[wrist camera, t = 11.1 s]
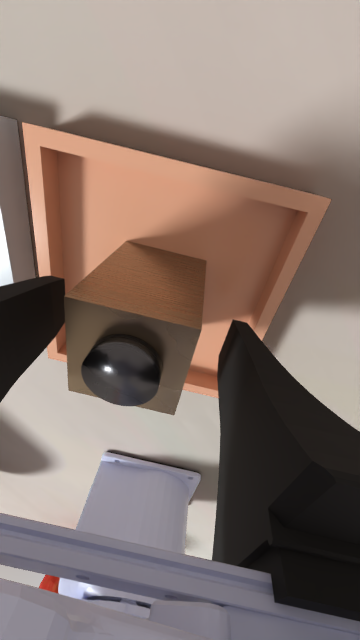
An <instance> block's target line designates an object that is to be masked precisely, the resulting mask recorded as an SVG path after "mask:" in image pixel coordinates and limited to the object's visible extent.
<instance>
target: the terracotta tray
mask: <svg viewBox="0 0 360 640" xmlns="http://www.w3.org/2000/svg"><path fill="white" fill-rule="evenodd" d="M22 127H23V136H24V145H25V154H26V163H27V172H28V181H29V190H30V199H31V208H32V217H33V226H34V235H35V244H36V252H37V261H38V270H39V277H42V276H50V275H51V276H55V277H59V278H63V279H65V295H66V294H67V293H68V292H69V291H70V290H72V289H73V288H74V287H75V286H76V285H77V284H78V283H79V282H80V281H82V280H83V279H84V278H85V277H86V276H87V275H88V274H89V273H91V272H92V271H93V270H94V269H95V268H96V267H97V266H98V265H100V264H101V263H102V262H103V261H104V260H105V259H106V258H107V257H109V256H110V255H111V254H112V253H113V252H114V251H115V250H116V249H118V248H119V247H120V246H121V245H122V244H123V243H124V242H125V241H130V242H134V243H138V244H142V245H146V246H150V247H154V248H158V249H162V250H166V251H170V252H174V253H178V254H182V255H186V256H190V257H194V258H199V259H203V260H207V261H206V275H205V289H204V303H203V317H202V330H201V333H200V336H199V339H198V342H197V346H196V349H195V352H194V355H193V358H192V361H191V364H190V367H189V370H188V374H187V377H186V380H185V383H184V386H183V389H182V390H186V391H191V392H195V393H199V394H203V395H208V396H212V397H216V398H219V397H218V381H217V371H218V357H219V353H220V351H221V348H222V346H223V343H224V341H225V338H226V335H227V333H228V330H229V328H230V325H231V323H232V320H233V319H234V320H238V321H242V322H246V323H248V324H249V326H250V327H251V328H252V329H253V331H254V332H255V333H256V334H257V336H258V337H259V338H260V340H261V341H262V339H263V337H264V335H265V333H266V331H267V329H268V327H269V325H270V323H271V321H272V319H273V317H274V315H275V313H276V311H277V309H278V307H279V305H280V303H281V301H282V299H283V297H284V295H285V293H286V291H287V289H288V287H289V285H290V283H291V281H292V279H293V277H294V275H295V273H296V271H297V269H298V267H299V265H300V263H301V261H302V259H303V257H304V255H305V253H306V251H307V249H308V247H309V245H310V242H311V240H312V238H313V236H314V234H315V232H316V230H317V228H318V226H319V224H320V222H321V220H322V218H323V216H324V214H325V212H326V210H327V208H328V206H329V204H330V202H331V200H332V199H329V198H326V197H322V196H319V195H316V194H312V193H308V192H304V191H300V190H296V189H292V188H288V187H284V186H280V185H276V184H272V183H268V182H264V181H260V180H256V179H252V178H248V177H244V176H240V175H236V174H232V173H228V172H224V171H220V170H216V169H212V168H208V167H204V166H200V165H196V164H192V163H188V162H184V161H180V160H176V159H172V158H168V157H164V156H160V155H156V154H152V153H148V152H144V151H140V150H136V149H132V148H128V147H124V146H120V145H116V144H112V143H108V142H104V141H100V140H96V139H92V138H88V137H84V136H80V135H75V134H71V133H67V132H63V131H59V130H55V129H51V128H47V127H42V126H38V125H33V124H28V123H24V122H22ZM47 351H48V358H50V359H54V360H59V361H63V362H67V349H66V329H65V323H64V325H63V326H62V328H61V329H60V331H59V332H58V334H57V335H56V337H55V338H54V339H53V340H52V341H51V343H50V344H49V345H48V346H47Z"/></svg>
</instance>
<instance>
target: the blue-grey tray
mask: <svg viewBox="0 0 360 640" xmlns="http://www.w3.org/2000/svg"><path fill="white" fill-rule="evenodd" d="M33 278H36V275H35V267H34V258H33V250H32V242H31V233H30V225H29V216H28V208H27V200H26V191H25V183H24V175H23V166H22V158H21V150H20V141H19V133H18V125H17V120H15V119H11V118H7V117H3V116H0V286H4V285H8V284H12V283H16V282H20V281H24V280H28V279H33Z"/></svg>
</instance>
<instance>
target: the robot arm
mask: <svg viewBox="0 0 360 640" xmlns="http://www.w3.org/2000/svg"><path fill="white" fill-rule="evenodd" d="M64 296H65V279H63V278H59V277H55V276H51V275H50V276H42V277H37V278H33V279H28V280H24V281H20V282H16V283H12V284H8V285H4V286H0V402H1V401H2V399H3V398H4V397H5V395H6V394H7V393H8V391H9V390H10V388H11V387H12V386H13V384H14V383H15V382H16V381H17V380H18V378H19V377H20V376H21V375H22V374H23V373H24V372H25V370H26V369H27V368H28V367H29V366H30V365H31V364H32V363H33V362H34V360H35V359H36V358H37V357H38V356H39V355H40V354H41V353H42V352H43V351H44V349H45V348H46V347H47V346H48V345H49V344H50V343H51V341H52V340H53V339H54V338H55V337H56V335H57V334H58V332H59V331H60V329H61V328H62V326H63V325H64V323H65V309H64ZM217 381H218V397H219V411H220V431H221V436H220V462H219V481H218V496H217V510H216V522H215V534H214V545H213V556H212V560H207V559H203V558H198V557H194V556H189V555H185V541H186V527H187V514H188V503H189V501H190V499H191V497H192V495H193V493H194V492H195V490H196V488H197V486H198V484H199V482H200V480H201V475H200V474H199V473H196V472H192V471H188V470H183V469H179V468H174V467H170V466H166V465H161V464H157V463H153V462H148V461H144V460H140V459H135V458H131V457H127V456H122V455H118V454H114V453H109V452H105V453H103V455H102V460H101V463H100V466H99V469H98V471H97V474H96V476H95V479H94V482H93V484H92V486H91V488H90V491H89V494H88V497H87V500H86V503H85V506H84V508H83V511H82V514H81V516H80V519H79V522H78V524H77V527H76V530H74V529H69V528H65V527H60V526H56V525H52V524H47V523H43V522H38V521H34V520H29V519H25V518H20V517H16V516H12V515H7V514H3V513H0V564H1V565H5V566H10V567H14V568H19V569H23V570H28V571H33V572H37V573H42V574H46V575H51V576H55V577H60V581H59V586H58V593H59V594H58V593H54V592H51V591H47V590H44V589H40V588H37V587H33V586H29V585H25V584H21V583H17V582H13V581H9V580H5V579H1V578H0V640H360V432H359V431H358V430H356V429H355V428H353V427H352V426H351V425H349V424H348V423H347V422H345V421H344V420H343V419H341V418H340V417H339V416H337V415H336V414H335V413H333V412H332V411H331V410H330V409H328V408H327V407H326V406H325V405H324V404H322V403H321V402H320V401H319V400H317V399H316V398H315V397H314V396H313V395H312V394H311V393H309V392H308V391H307V390H306V389H305V388H304V387H303V386H302V385H301V384H300V383H299V382H298V381H297V380H296V379H295V378H294V377H293V376H292V375H291V374H290V373H289V372H288V371H287V370H286V369H285V368H284V367H283V366H282V365H281V364H280V363H279V361H278V360H277V359H276V358H275V357H274V356H273V354H272V353H271V352H270V351H269V350H268V348H267V347H266V346H265V345H264V343H263V342H262V341H261V340H260V338H259V337H258V336H257V334H256V333H255V332H254V331H253V329H252V328H251V327H250V326H249V324H248V323H246V322H242V321H238V320H234V319H233V320H232V323H231V325H230V328H229V330H228V333H227V335H226V338H225V341H224V343H223V346H222V348H221V351H220V353H219V357H218V371H217Z"/></svg>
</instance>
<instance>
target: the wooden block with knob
mask: <svg viewBox="0 0 360 640" xmlns="http://www.w3.org/2000/svg"><path fill="white" fill-rule="evenodd" d="M206 261H207V260H203V259H199V258H194V257H190V256H186V255H182V254H178V253H174V252H170V251H166V250H162V249H158V248H154V247H150V246H146V245H142V244H138V243H134V242H130V241H125V242H124V243H123V244H122V245H121V246H120V247H119V248H118V249H116V250H115V251H114V252H113V253H112V254H111V255H110V256H109V257H107V258H106V259H105V260H104V261H103V262H102V263H101V264H100V265H98V266H97V267H96V268H95V269H94V270H93V271H92V272H91V273H89V274H88V275H87V276H86V277H85V278H84V279H83V280H82V281H80V282H79V283H78V284H77V285H76V286H75V287H74V288H73V289H72V290H70V291H69V292H68V293H67V294H66V295H65V296H64V309H65V329H66V349H67V369H68V388H69V391H73V392H78V393H82V394H86V395H90V396H95V397H99V398H101V399H103V400H105V401H107V402H110V403H113V404H116V405H121V406H137V407H141V408H145V409H150V410H154V411H158V412H162V413H167V414H171V415H174V414H175V411H176V408H177V405H178V402H179V398H180V395H181V392H182V389H183V386H184V383H185V380H186V377H187V374H188V370H189V367H190V364H191V361H192V358H193V355H194V352H195V349H196V346H197V342H198V339H199V336H200V333H201V330H202V317H203V303H204V289H205V275H206Z"/></svg>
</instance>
